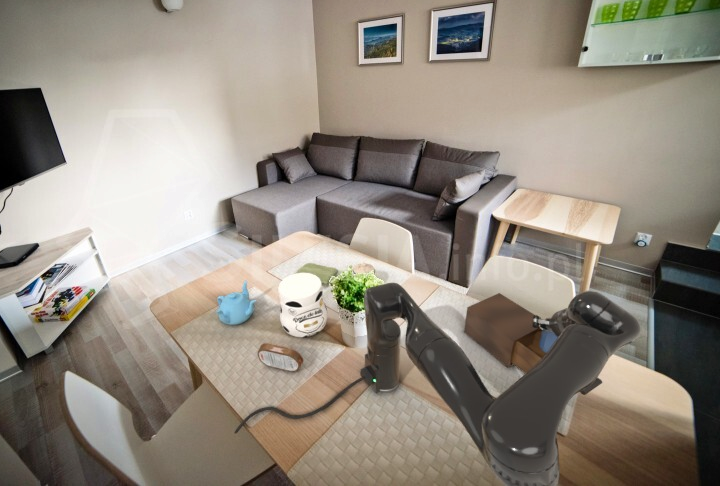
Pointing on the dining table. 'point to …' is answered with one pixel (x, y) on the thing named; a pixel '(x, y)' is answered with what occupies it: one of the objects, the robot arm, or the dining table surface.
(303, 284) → the milk container
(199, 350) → the dining table surface
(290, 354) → the tin
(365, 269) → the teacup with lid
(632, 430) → the dining table surface
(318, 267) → the washcloth
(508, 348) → the wooden storage box
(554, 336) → the cup
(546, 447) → the robot arm
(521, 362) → the drawer
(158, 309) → the dining table surface
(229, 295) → the teapot
